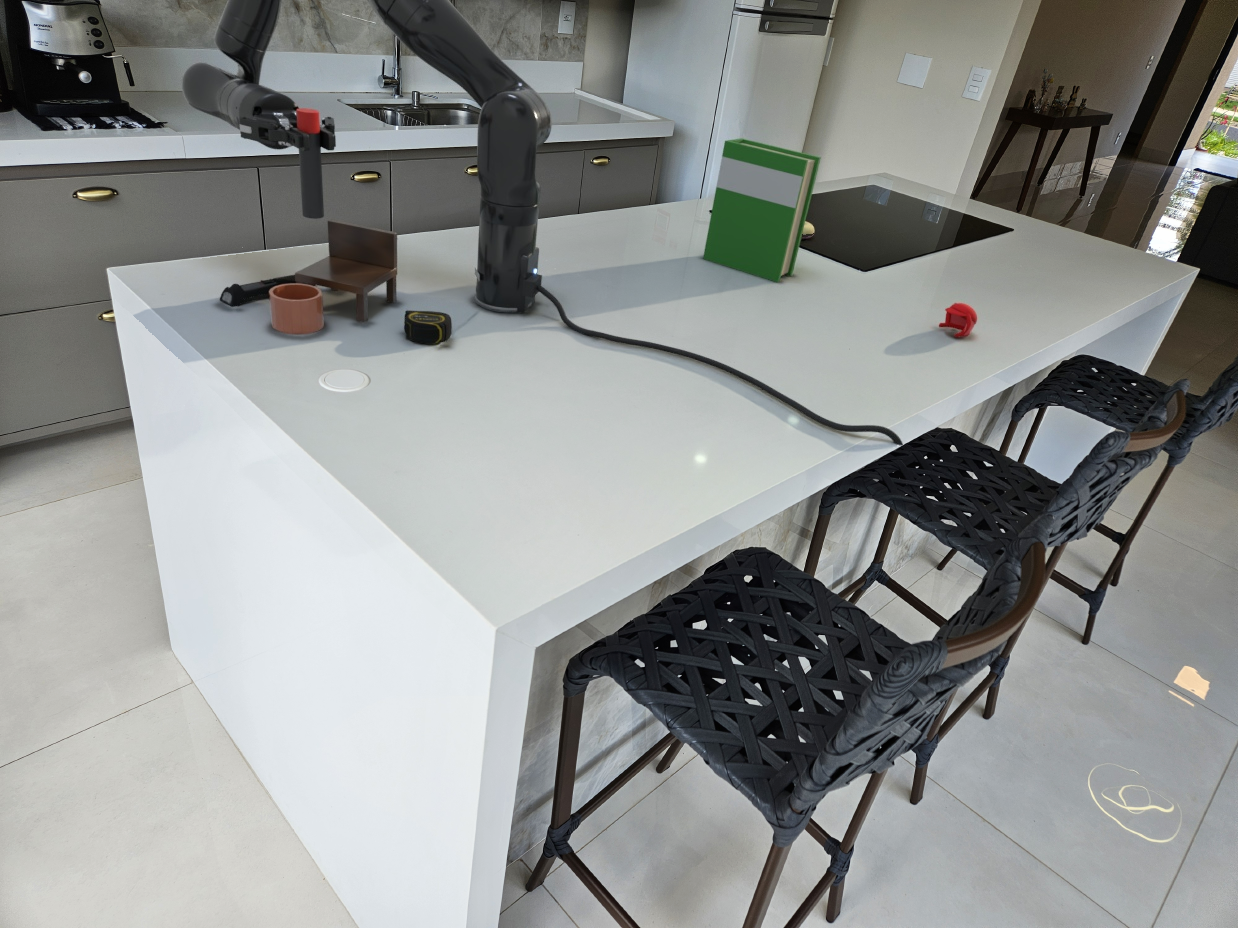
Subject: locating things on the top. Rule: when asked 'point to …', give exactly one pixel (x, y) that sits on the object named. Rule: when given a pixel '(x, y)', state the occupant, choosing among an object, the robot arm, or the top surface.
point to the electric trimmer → (253, 290)
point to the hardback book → (760, 208)
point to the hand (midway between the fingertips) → (319, 142)
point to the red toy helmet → (960, 319)
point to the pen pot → (296, 308)
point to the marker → (311, 165)
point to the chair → (356, 263)
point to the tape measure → (427, 326)
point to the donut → (807, 230)
